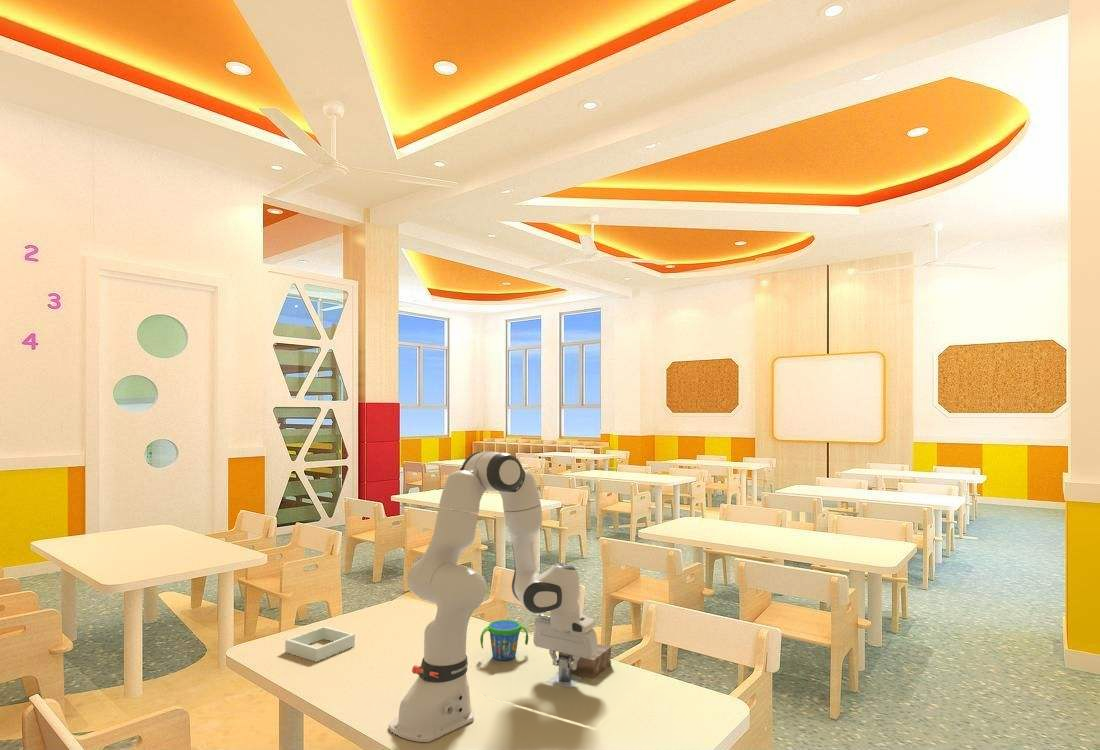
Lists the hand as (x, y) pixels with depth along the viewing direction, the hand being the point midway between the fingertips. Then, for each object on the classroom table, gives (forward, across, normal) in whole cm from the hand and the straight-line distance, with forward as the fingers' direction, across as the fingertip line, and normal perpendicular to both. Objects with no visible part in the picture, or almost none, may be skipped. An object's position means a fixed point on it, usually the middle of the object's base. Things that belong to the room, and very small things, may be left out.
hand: (564, 667), depth 185 cm
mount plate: (+4, 0, 0) cm, 4 cm away
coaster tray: (+4, -82, -21) cm, 85 cm away
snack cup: (+4, -26, +6) cm, 27 cm away
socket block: (+4, +1, +11) cm, 12 cm away
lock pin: (+4, 0, 0) cm, 4 cm away
